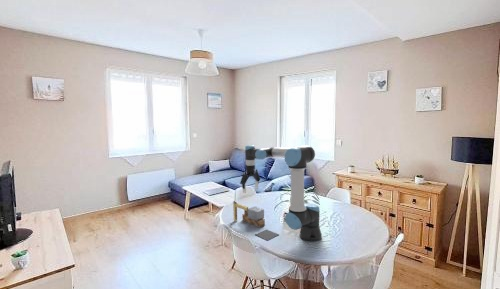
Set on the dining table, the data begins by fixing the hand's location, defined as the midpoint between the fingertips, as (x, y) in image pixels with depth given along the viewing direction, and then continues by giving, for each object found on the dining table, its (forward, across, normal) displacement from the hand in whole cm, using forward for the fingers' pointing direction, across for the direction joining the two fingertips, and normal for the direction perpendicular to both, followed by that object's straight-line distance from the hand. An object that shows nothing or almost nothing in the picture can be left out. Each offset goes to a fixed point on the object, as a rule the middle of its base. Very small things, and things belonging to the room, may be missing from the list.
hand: (250, 190), depth 214 cm
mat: (+24, +11, +28) cm, 38 cm away
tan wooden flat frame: (+24, +11, 0) cm, 26 cm away
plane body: (+24, +3, +6) cm, 25 cm away
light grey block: (+20, +3, +8) cm, 21 cm away
